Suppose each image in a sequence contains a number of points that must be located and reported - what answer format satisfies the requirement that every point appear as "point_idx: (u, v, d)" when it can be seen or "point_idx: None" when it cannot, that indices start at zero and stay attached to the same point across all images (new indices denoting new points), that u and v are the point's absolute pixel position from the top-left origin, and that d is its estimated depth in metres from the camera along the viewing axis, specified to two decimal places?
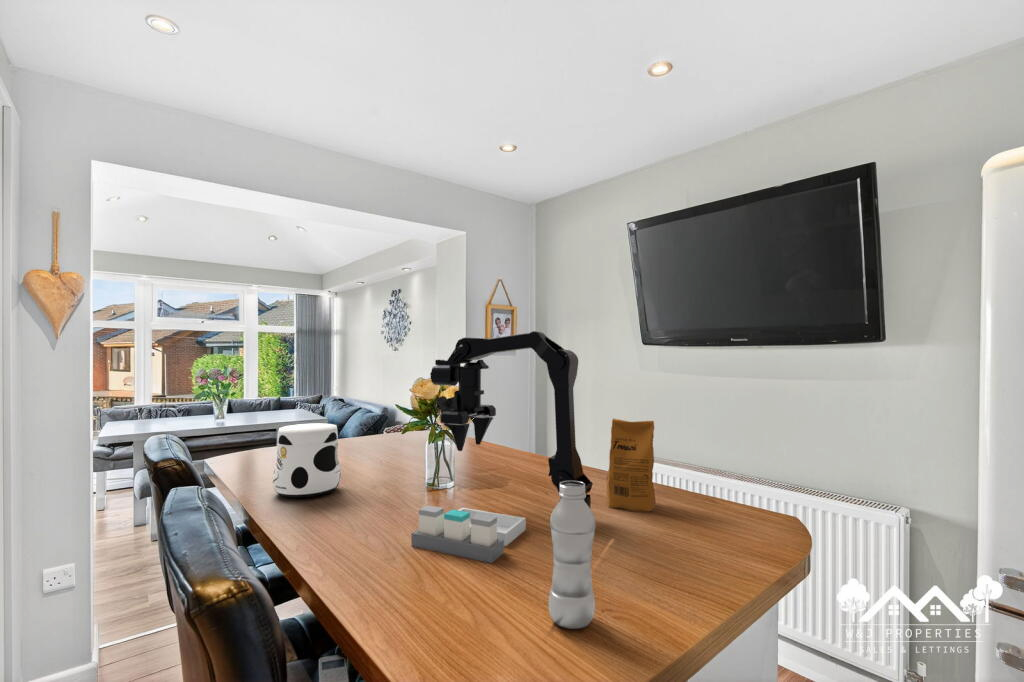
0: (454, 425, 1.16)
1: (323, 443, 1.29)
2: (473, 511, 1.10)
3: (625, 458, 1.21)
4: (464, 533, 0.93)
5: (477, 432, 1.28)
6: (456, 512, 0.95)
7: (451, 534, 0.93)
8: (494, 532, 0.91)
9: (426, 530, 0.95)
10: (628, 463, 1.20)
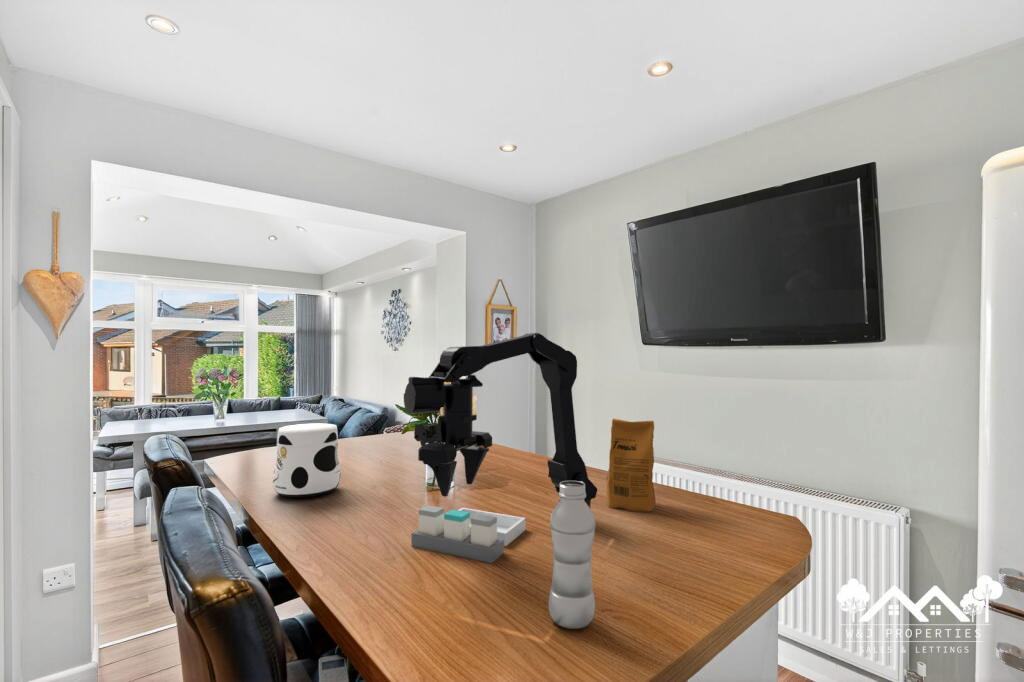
0: (436, 464, 0.87)
1: (323, 443, 1.29)
2: (473, 511, 1.10)
3: (625, 458, 1.21)
4: (464, 533, 0.93)
5: (468, 468, 0.99)
6: (456, 512, 0.95)
7: (451, 534, 0.93)
8: (494, 532, 0.91)
9: (426, 530, 0.95)
10: (628, 463, 1.20)
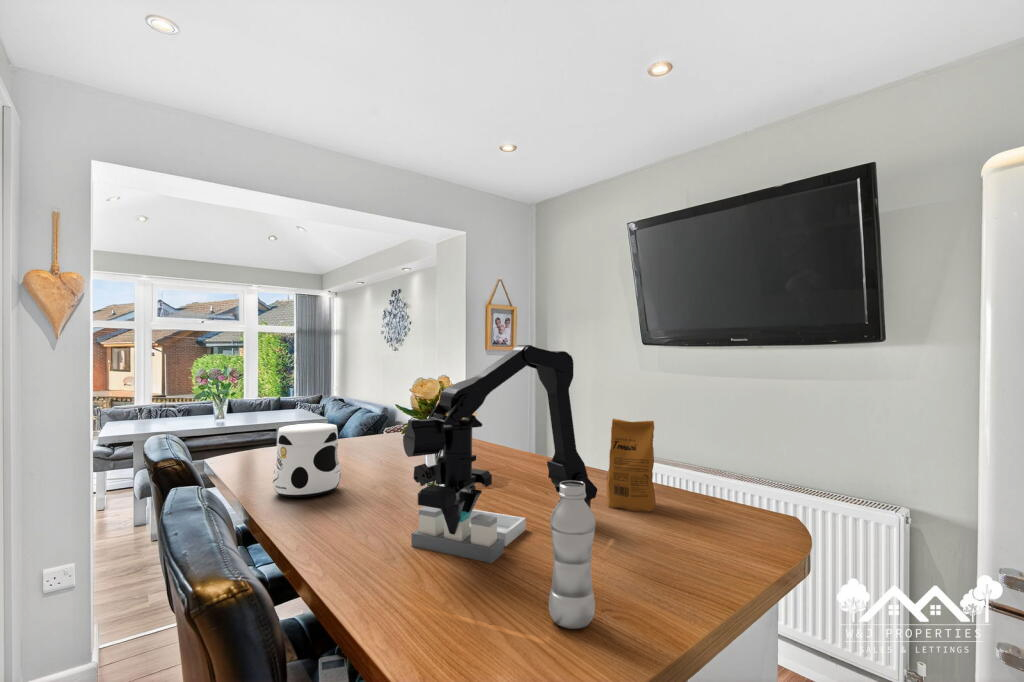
0: None
1: (323, 443, 1.29)
2: (473, 511, 1.10)
3: (625, 458, 1.21)
4: (464, 533, 0.93)
5: None
6: None
7: (451, 534, 0.93)
8: (494, 532, 0.91)
9: (426, 530, 0.95)
10: (628, 463, 1.20)
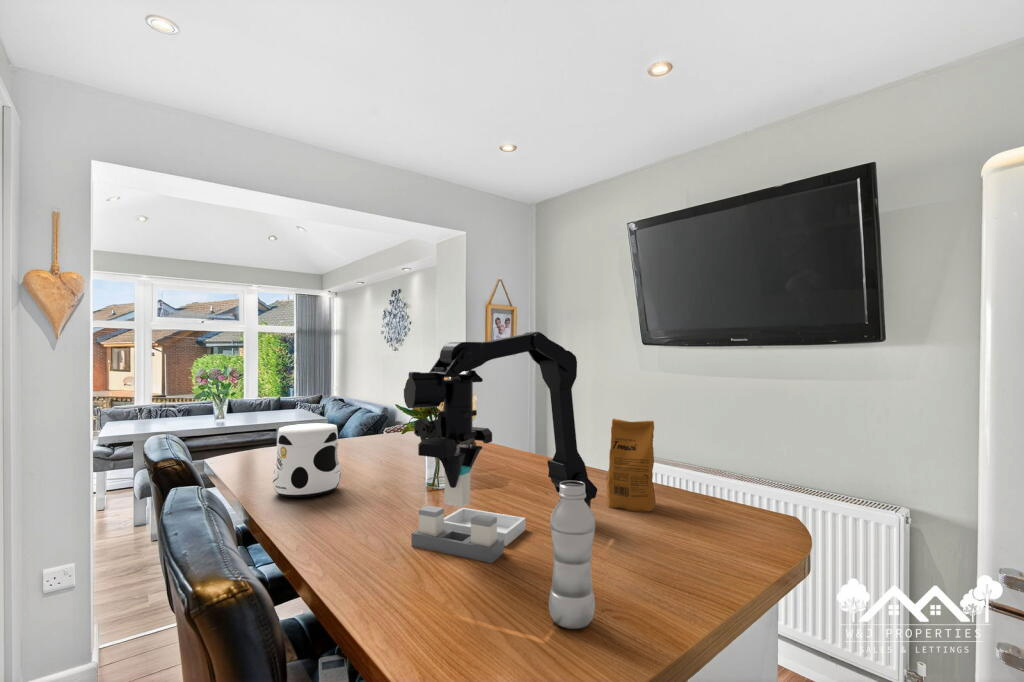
0: None
1: (323, 443, 1.29)
2: (473, 511, 1.10)
3: (625, 458, 1.21)
4: (465, 487, 0.93)
5: None
6: None
7: (451, 488, 0.93)
8: (494, 532, 0.91)
9: (426, 530, 0.95)
10: (628, 463, 1.20)
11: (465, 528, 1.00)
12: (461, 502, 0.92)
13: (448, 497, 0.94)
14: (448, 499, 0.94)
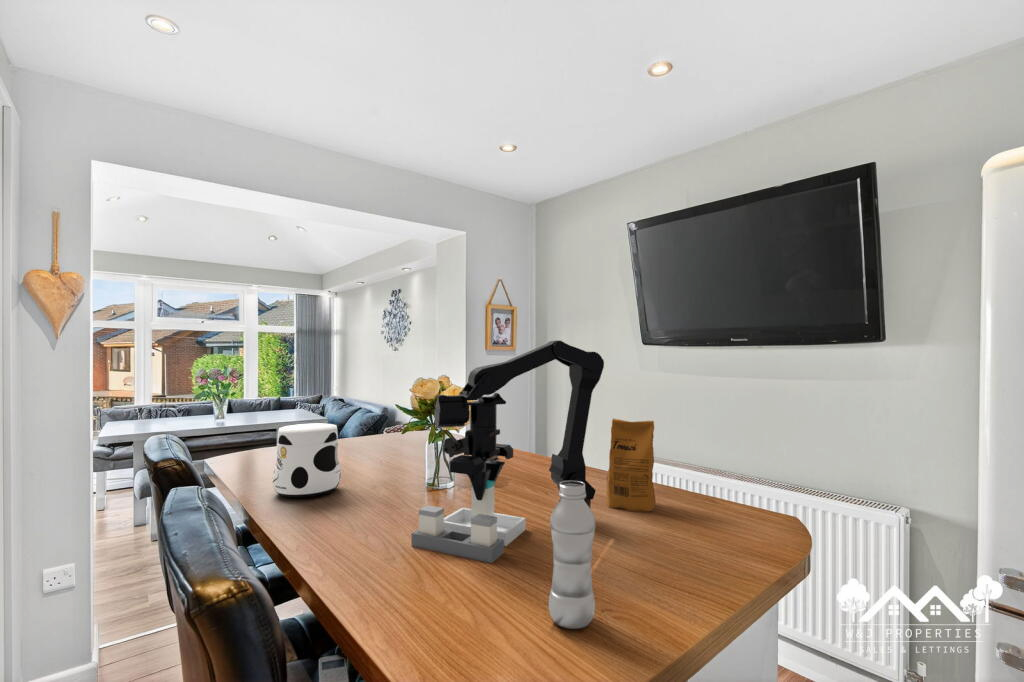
0: None
1: (323, 443, 1.29)
2: None
3: (625, 458, 1.21)
4: (490, 499, 1.03)
5: None
6: None
7: (478, 500, 1.03)
8: (494, 532, 0.91)
9: (426, 530, 0.95)
10: (628, 463, 1.20)
11: (465, 528, 1.00)
12: (487, 513, 1.02)
13: (475, 508, 1.03)
14: (474, 511, 1.03)
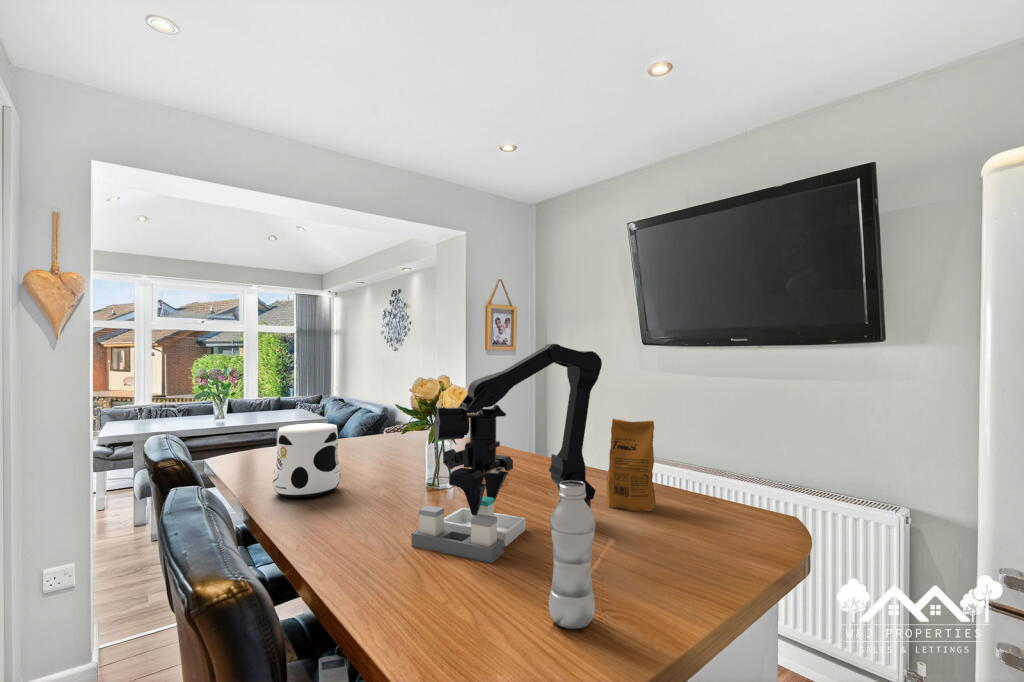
0: None
1: (323, 443, 1.29)
2: None
3: (625, 458, 1.21)
4: None
5: (489, 491, 1.07)
6: (482, 497, 1.04)
7: None
8: (494, 532, 0.91)
9: (426, 530, 0.95)
10: (628, 463, 1.20)
11: (465, 528, 1.00)
12: None
13: None
14: None
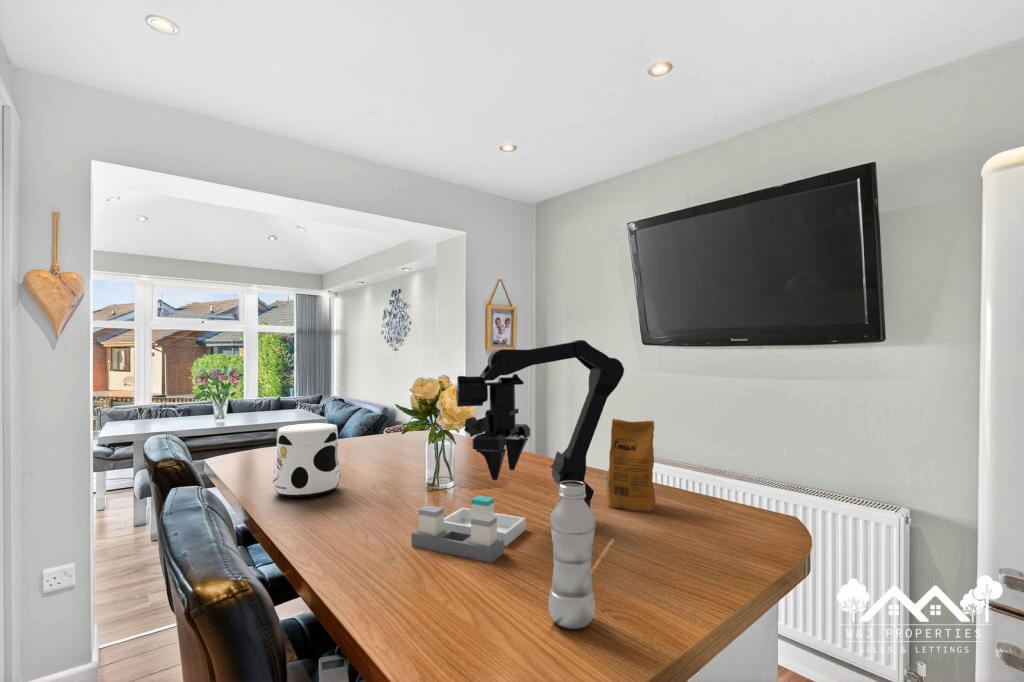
0: (489, 451, 1.01)
1: (323, 443, 1.29)
2: None
3: (625, 458, 1.21)
4: None
5: (511, 456, 1.12)
6: (482, 497, 1.04)
7: None
8: (494, 532, 0.91)
9: (426, 530, 0.95)
10: (628, 463, 1.20)
11: (465, 528, 1.00)
12: None
13: None
14: None
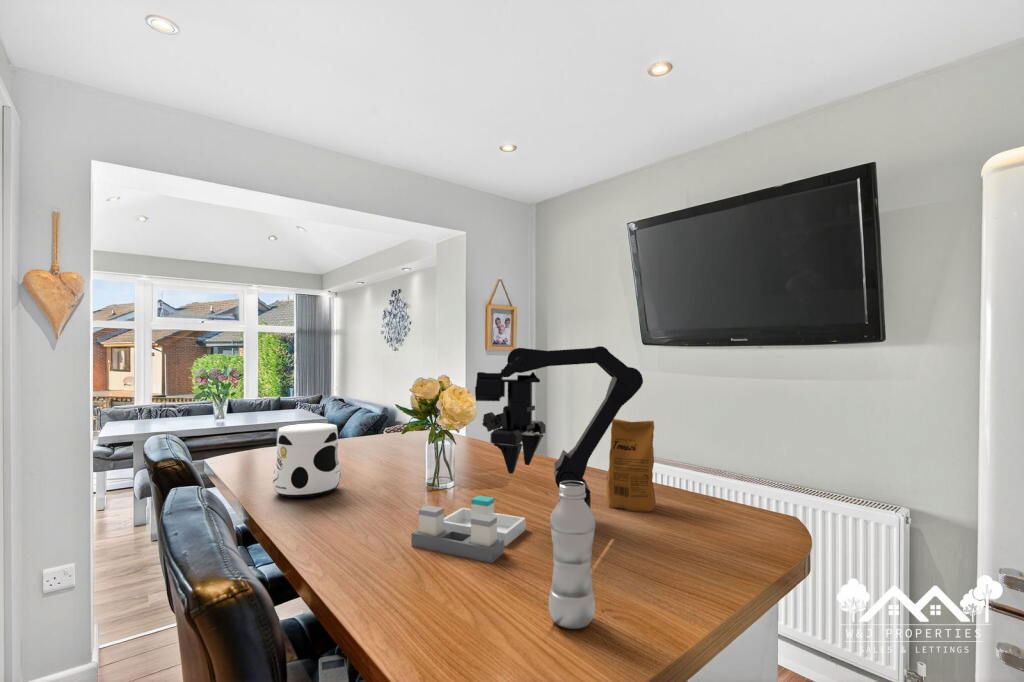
0: (506, 445, 1.05)
1: (323, 443, 1.29)
2: None
3: (625, 458, 1.21)
4: None
5: (526, 451, 1.16)
6: (482, 497, 1.04)
7: None
8: (494, 532, 0.91)
9: (426, 530, 0.95)
10: (628, 463, 1.20)
11: (465, 528, 1.00)
12: None
13: None
14: None
